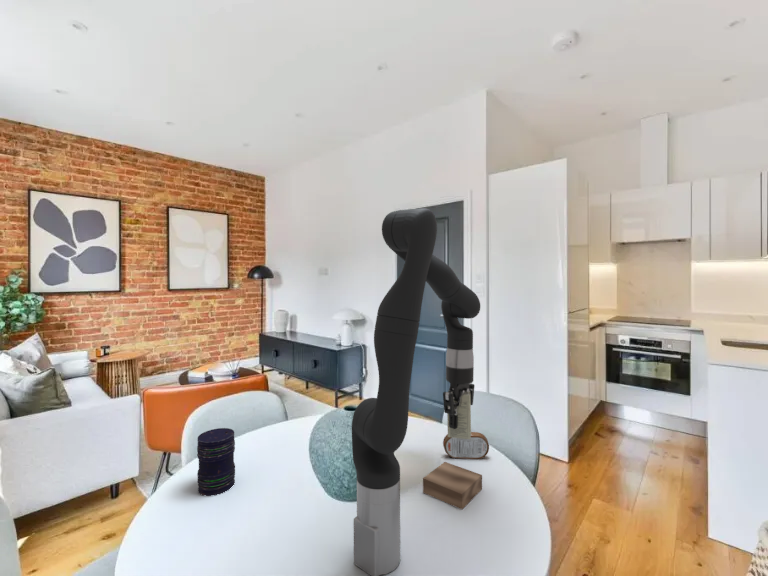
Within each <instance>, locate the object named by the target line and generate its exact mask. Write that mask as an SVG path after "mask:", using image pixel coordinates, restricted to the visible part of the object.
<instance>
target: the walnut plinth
mask: <svg viewBox="0 0 768 576" xmlns="http://www.w3.org/2000/svg"><path fill="white" fill-rule="evenodd" d="M482 490H483V474H480V473H477V472H475V471H472V470H469V469H466V468H463V467H460V466H458V465H455V464H453V463H450V462H447V461H443V463H441V464H439V466H437V467H436V468H434V469H433V470H432V471H431V472H430V473H428V474H427V475H425V476H424V477H423V478H422V492H423V494H425V495H427V496H430V497H432V498H434V499H437V500H439V501H442V502H443V501H444V502H443V503H446V504H448V505H450V506H454V507H456V508H458V509H460V510H464V508H465V507H466V506H467V505H468V504H469V503H470V502H471V501H472V500H474V498H475V497H476V496H477V495H478V494H479V493H480V492H481V491H482Z"/></svg>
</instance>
